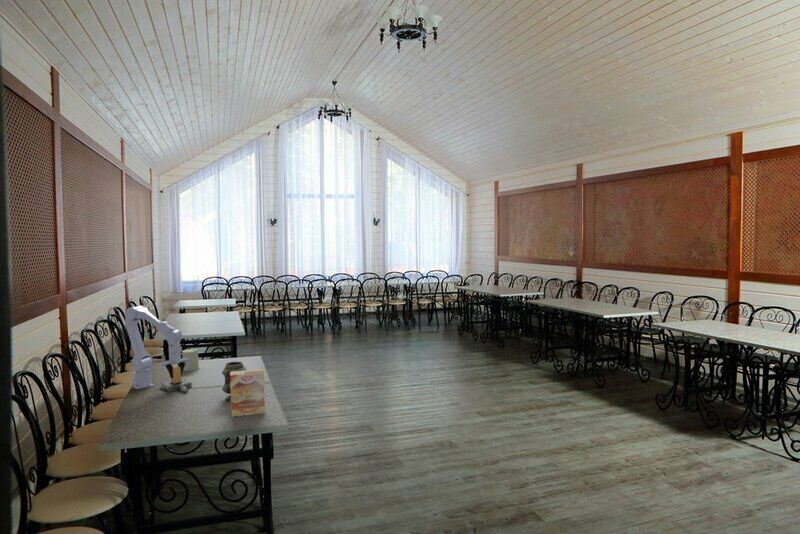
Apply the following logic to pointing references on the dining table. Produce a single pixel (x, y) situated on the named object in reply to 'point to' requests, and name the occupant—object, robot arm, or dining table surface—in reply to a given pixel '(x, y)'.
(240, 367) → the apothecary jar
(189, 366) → the can
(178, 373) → the tan cardboard box
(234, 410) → the coffeecake box
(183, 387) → the bracket head
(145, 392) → the dining table surface
